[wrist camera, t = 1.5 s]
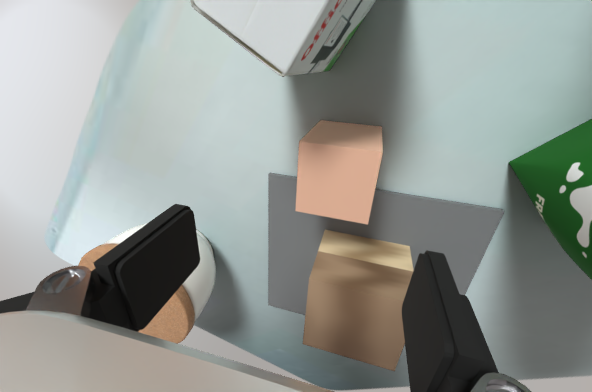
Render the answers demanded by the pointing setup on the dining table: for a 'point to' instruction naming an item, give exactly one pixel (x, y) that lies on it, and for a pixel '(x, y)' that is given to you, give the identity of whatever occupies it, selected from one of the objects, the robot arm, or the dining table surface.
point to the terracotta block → (339, 170)
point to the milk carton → (563, 189)
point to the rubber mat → (372, 236)
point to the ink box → (288, 29)
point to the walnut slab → (356, 309)
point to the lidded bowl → (185, 301)
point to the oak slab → (367, 249)
